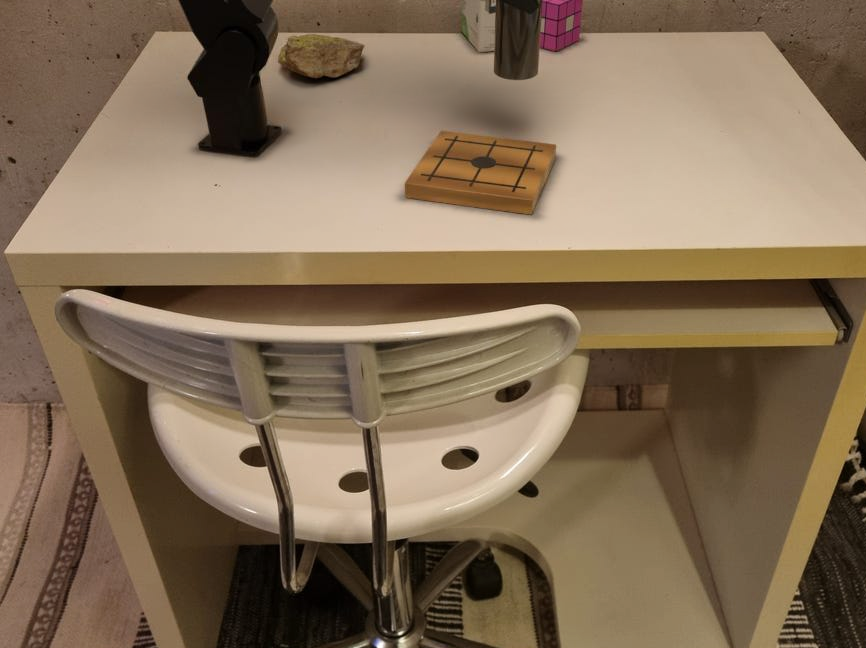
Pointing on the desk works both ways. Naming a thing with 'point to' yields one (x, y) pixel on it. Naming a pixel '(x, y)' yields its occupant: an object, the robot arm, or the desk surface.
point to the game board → (482, 172)
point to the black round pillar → (516, 42)
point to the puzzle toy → (560, 23)
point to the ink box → (479, 23)
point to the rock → (320, 55)
